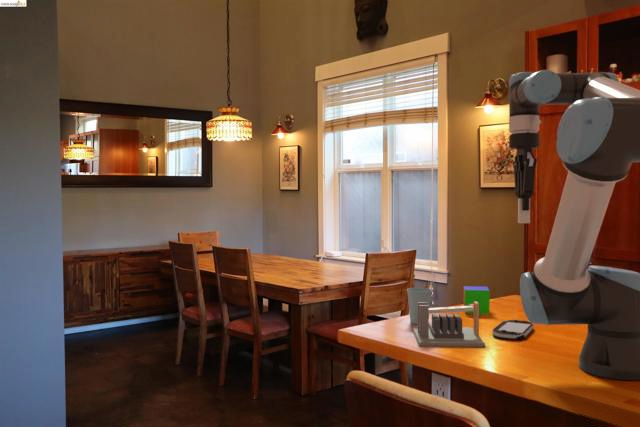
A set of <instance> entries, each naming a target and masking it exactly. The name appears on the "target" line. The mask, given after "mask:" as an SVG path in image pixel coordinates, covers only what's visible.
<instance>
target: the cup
mask: <svg viewBox="0 0 640 427" xmlns="http://www.w3.org/2000/svg"><path fill="white" fill-rule="evenodd" d="M406 294H407V302H408V311H409V320H410V323H411V324H413V325H418V302H426V303H427V305H428V306H429V308H431V303H432V294H433V290H432V288H427V287H409V288H407V289H406Z"/></svg>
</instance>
